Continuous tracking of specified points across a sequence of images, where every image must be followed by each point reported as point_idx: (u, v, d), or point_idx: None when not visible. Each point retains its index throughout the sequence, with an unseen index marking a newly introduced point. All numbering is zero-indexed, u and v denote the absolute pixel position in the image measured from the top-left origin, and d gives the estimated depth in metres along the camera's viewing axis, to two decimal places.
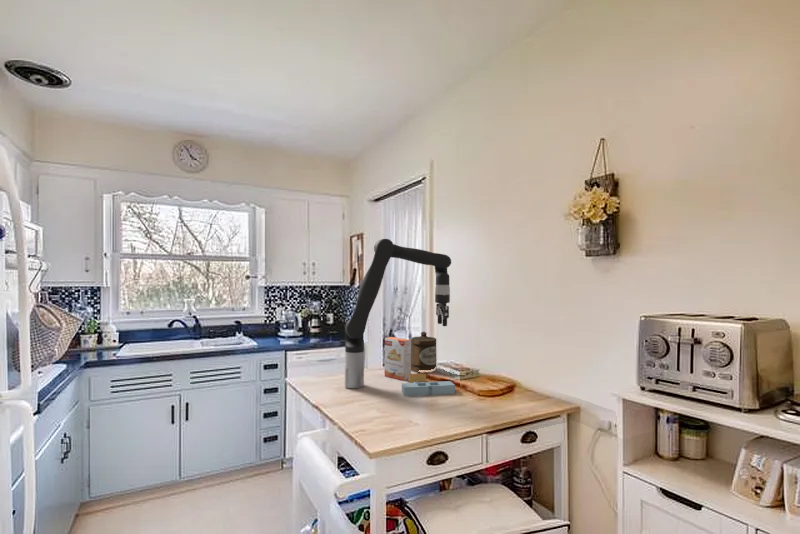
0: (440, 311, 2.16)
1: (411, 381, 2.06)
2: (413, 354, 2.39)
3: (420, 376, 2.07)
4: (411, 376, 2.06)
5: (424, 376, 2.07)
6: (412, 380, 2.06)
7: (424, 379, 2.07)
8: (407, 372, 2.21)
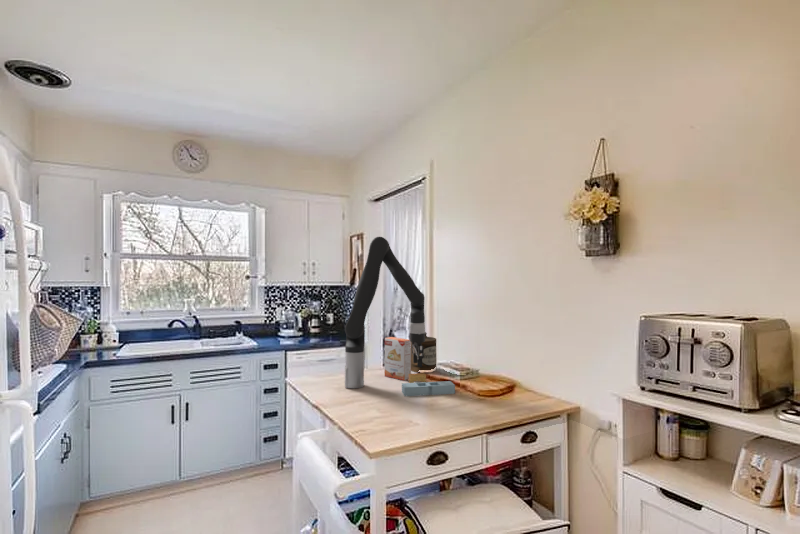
0: (415, 351, 2.05)
1: (411, 381, 2.06)
2: None
3: (420, 376, 2.07)
4: (411, 376, 2.06)
5: (424, 376, 2.07)
6: (412, 380, 2.06)
7: (424, 379, 2.07)
8: (407, 372, 2.21)
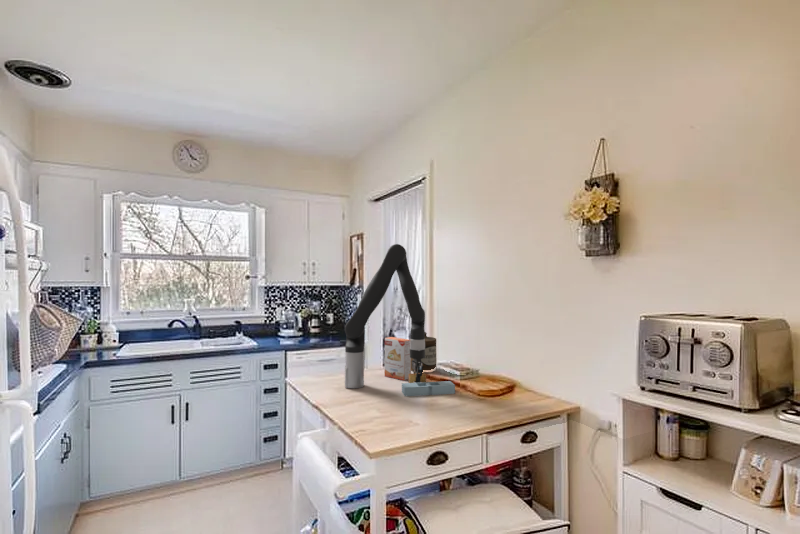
0: (414, 367, 2.06)
1: (411, 381, 2.06)
2: None
3: None
4: (411, 376, 2.06)
5: (424, 376, 2.07)
6: (412, 380, 2.06)
7: (424, 379, 2.07)
8: (407, 372, 2.21)
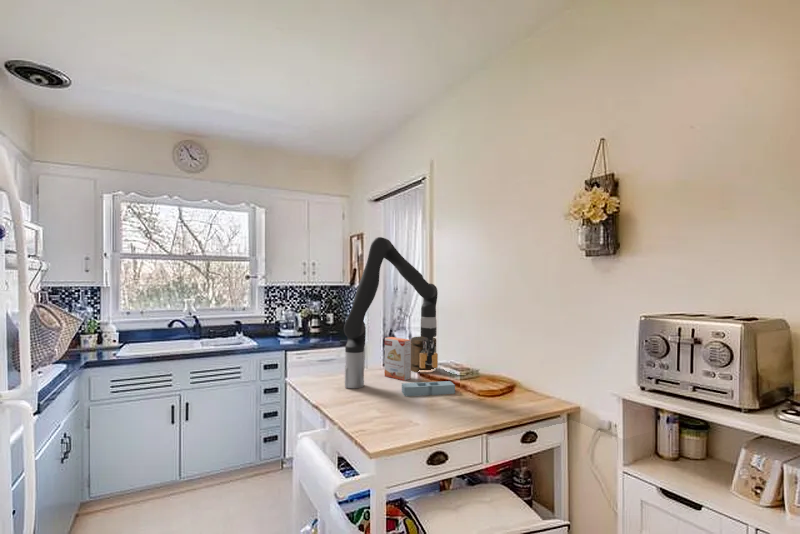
0: (425, 346, 1.98)
1: (422, 360, 1.97)
2: (413, 354, 2.39)
3: (432, 355, 1.98)
4: (422, 355, 1.97)
5: (436, 355, 1.99)
6: (423, 359, 1.97)
7: (436, 358, 1.99)
8: (407, 372, 2.21)
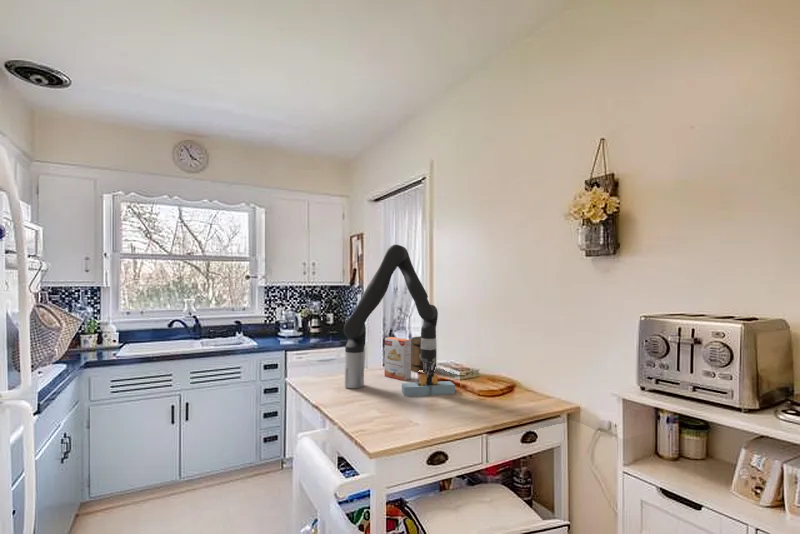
0: (425, 367, 1.98)
1: (422, 382, 1.97)
2: (413, 354, 2.39)
3: (432, 377, 1.98)
4: (422, 377, 1.97)
5: (436, 377, 1.99)
6: (423, 381, 1.97)
7: (436, 380, 1.99)
8: (407, 372, 2.21)
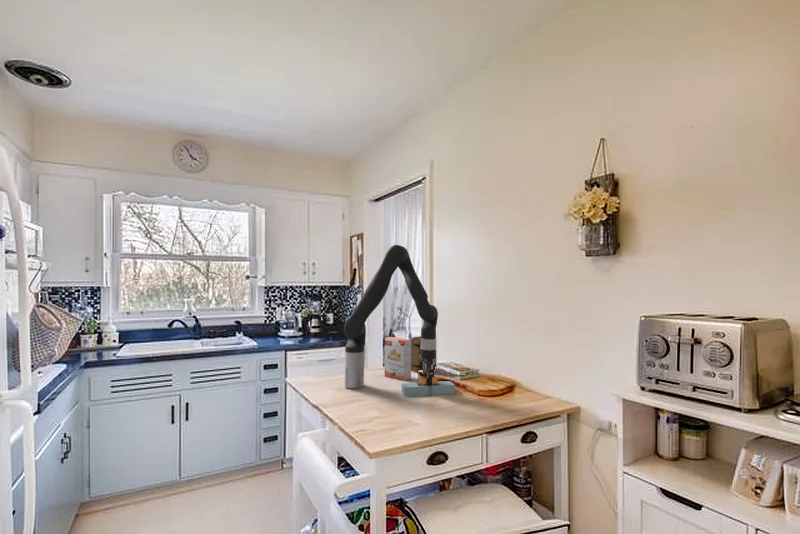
0: (425, 368, 1.98)
1: (422, 385, 1.97)
2: (413, 354, 2.39)
3: None
4: (422, 380, 1.97)
5: (436, 380, 1.99)
6: (423, 384, 1.97)
7: (435, 383, 1.99)
8: (407, 372, 2.21)
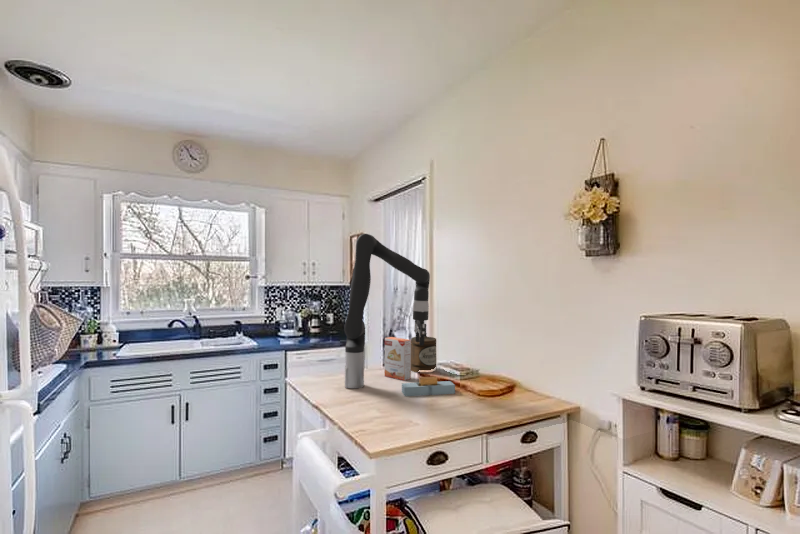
0: (417, 329, 2.02)
1: (422, 385, 1.97)
2: (413, 354, 2.39)
3: (431, 380, 1.98)
4: (422, 380, 1.97)
5: (435, 380, 1.99)
6: (423, 384, 1.97)
7: (435, 383, 1.99)
8: (407, 372, 2.21)
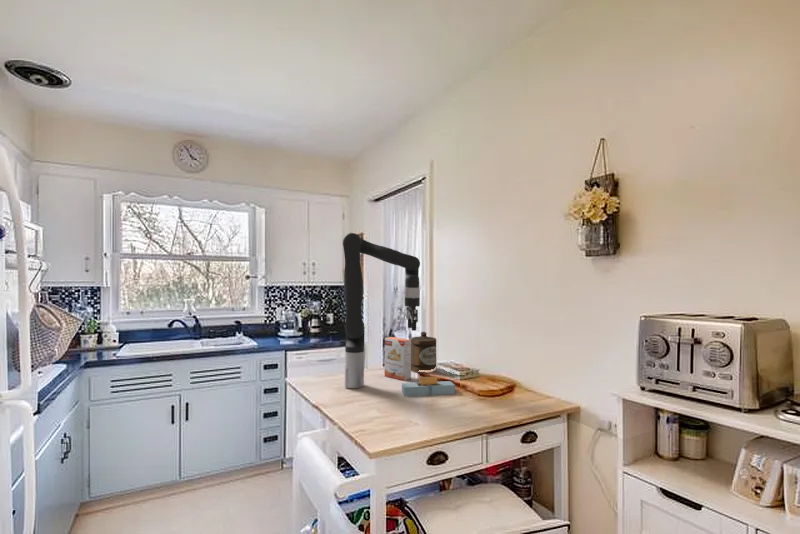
0: (409, 315, 2.08)
1: (422, 385, 1.97)
2: (413, 354, 2.39)
3: (431, 380, 1.98)
4: (422, 380, 1.97)
5: (435, 380, 1.99)
6: (423, 384, 1.97)
7: (435, 383, 1.99)
8: (407, 372, 2.21)
